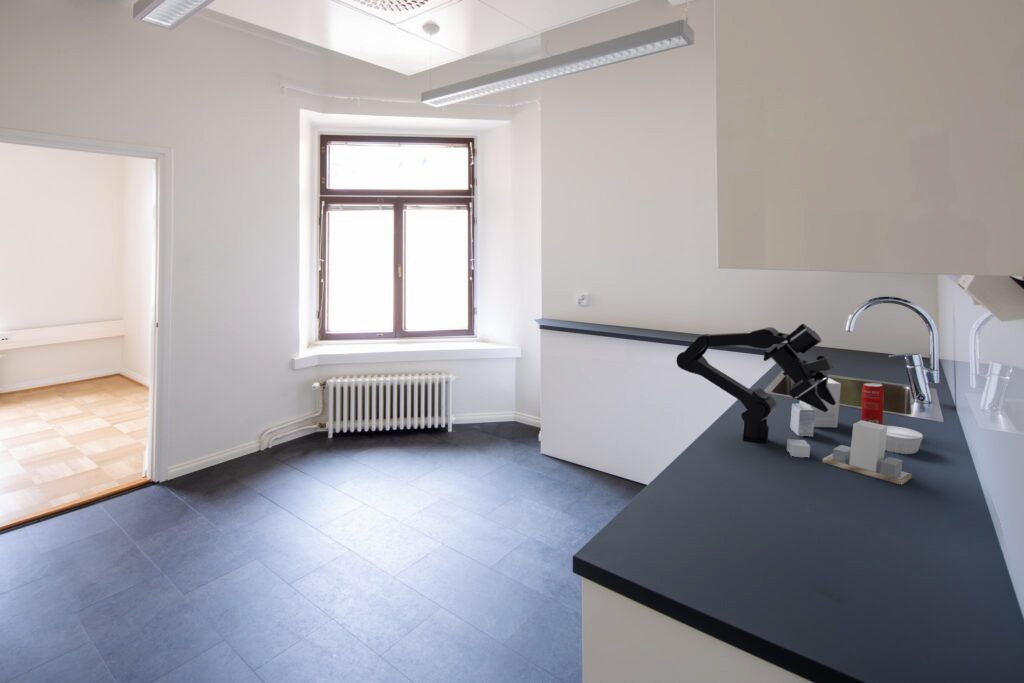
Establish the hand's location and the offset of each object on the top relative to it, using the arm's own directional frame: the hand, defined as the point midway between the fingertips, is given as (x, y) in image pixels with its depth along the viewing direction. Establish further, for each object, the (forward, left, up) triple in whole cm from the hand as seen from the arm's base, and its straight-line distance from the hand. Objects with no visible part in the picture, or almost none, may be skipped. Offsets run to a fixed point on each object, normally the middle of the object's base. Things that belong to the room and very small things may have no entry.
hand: (830, 407), depth 144 cm
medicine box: (-4, +18, -14) cm, 23 cm away
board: (+8, -9, -14) cm, 18 cm away
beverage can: (+17, +31, -14) cm, 38 cm away
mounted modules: (+8, -9, -12) cm, 17 cm away
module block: (+8, -9, -12) cm, 17 cm away
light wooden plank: (+8, -9, -14) cm, 18 cm away
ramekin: (+20, +13, -14) cm, 28 cm away
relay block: (-7, -3, -14) cm, 16 cm away
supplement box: (+2, +31, -14) cm, 34 cm away
